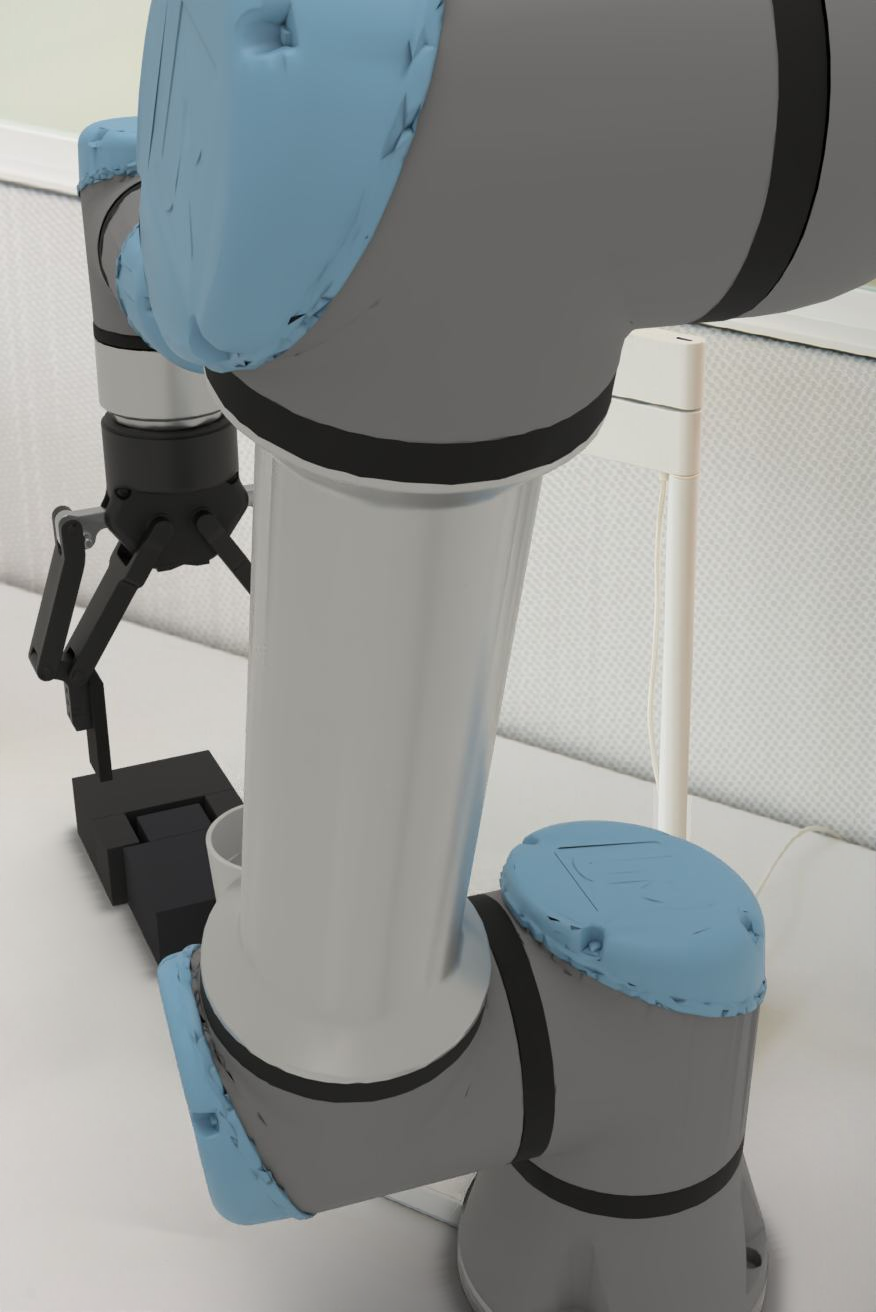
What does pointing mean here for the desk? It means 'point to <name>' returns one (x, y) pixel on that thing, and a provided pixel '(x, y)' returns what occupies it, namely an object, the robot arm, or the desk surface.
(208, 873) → the tab pad
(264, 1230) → the desk surface
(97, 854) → the notch pad
